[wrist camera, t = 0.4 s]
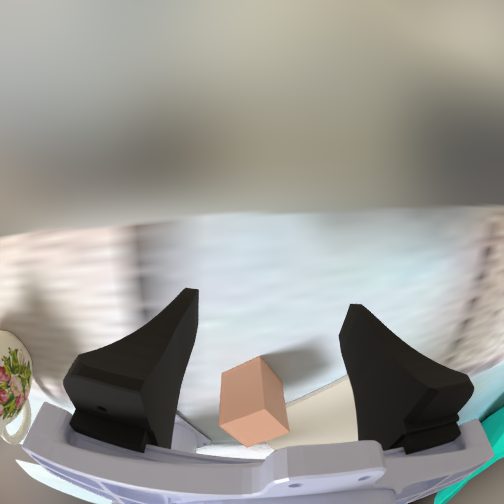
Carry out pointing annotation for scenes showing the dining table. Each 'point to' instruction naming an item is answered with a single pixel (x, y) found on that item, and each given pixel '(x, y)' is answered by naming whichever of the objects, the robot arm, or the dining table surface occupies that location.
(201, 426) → the dining table surface
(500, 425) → the table top decor
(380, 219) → the dining table surface
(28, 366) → the pitcher
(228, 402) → the block
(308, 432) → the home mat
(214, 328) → the dining table surface
